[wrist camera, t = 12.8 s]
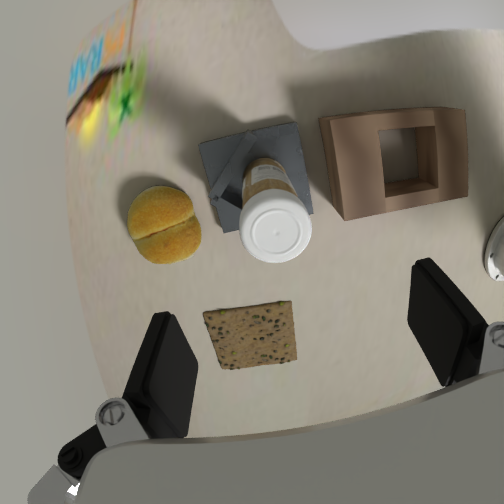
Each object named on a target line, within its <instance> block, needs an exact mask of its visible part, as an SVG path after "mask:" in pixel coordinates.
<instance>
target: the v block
mask: <svg viewBox="0 0 504 504" xmlns="http://www.w3.org/2000/svg"><path fill="white" fill-rule="evenodd" d="M198 146H199V149H200V153H201V156H202V160H203V163H204V167H205V171H206V174H207V178H208V181H209V185H210V188H211V191H210V193H209V195H208V197H209V198H211V202H210V204H212V205H213V206H215V207H216V209H217V212H218V216H219V219H220V223H221V226H222V229H223V233H227V232H231V231H236V230H239V221H240V214H241V211H242V209H243V199H242V188H243V182H242V179H243V173H244V171H245V169H246V167H247V166H248V165H249V164H250V163H251V162H252V161H255V160H257V159H260V158H270V159H273V160H275V161H277V162H278V163H280V164H281V165H282V166H283V168H284V170H285V172H286V175H287V176H288V178H289V180H290V182H291V184H292V186H293V188H294V190H295V192H296V194H297V196H298V198H299V199H300V200H301V201H302V203H303V204H304V206H305V208H306V210H307V212H308V214H309V215H310V214H313V207H312V201H311V195H310V190H309V184H308V178H307V173H306V167H305V162H304V157H303V152H302V147H301V142H300V137H299V132H298V127H297V122H292V123H286V124H281V125H276V126H271V127H266V128H262V129H257V130H252V131H250V130H247V131H246V132H244V133H239V134H235V135H231V136H227V137H223V138H219V139H215V140H211V141H208V142H204V143H200V144H199V145H198Z"/></svg>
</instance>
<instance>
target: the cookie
mask: <svg viewBox="0 0 504 504" xmlns="http://www.w3.org/2000/svg"><path fill="white" fill-rule="evenodd" d="M203 316H204V319H205V322H206V323H205V324H206V326H207V328H208V331H209V333H210V336H211V340H212V343H213V345H214V348H215V350H216V353H217V357H218V359H219V363H220V366H221V368H222V369H230V370H233V369H240V368H247V367H254V366H260V365H269V364H278V363H280V364H283V363H285V362H290V361H293V360H297V352H296V341H295V334H294V322H293V312H292V301H280V302H277V303H268V304H263V305H256V306H249V307H240V308H233V309H224V310H218V311H207V312H204V313H203Z"/></svg>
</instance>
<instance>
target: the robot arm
mask: <svg viewBox="0 0 504 504" xmlns="http://www.w3.org/2000/svg"><path fill="white" fill-rule="evenodd" d="M485 269H486V272H487V274H488V275H489V276H490V277H491V278H492V279H493V280H495V281H503V280H504V217H503V218H502V219H501V220H500V221H499V222H498V224H497V225H496V227H495V228H494V230H493V232H492V234H491V236H490V239H489V241H488V244H487V247H486V252H485ZM407 320H408V325H409V327H410V329H411V330H412V332H413V334H414V336H415V337H416V339H417V341H418V343H419V345H420V346H421V348H422V350H423V352H424V354H425V356H426V357H427V359H428V361H429V363H430V365H431V367H432V369H433V371H434V373H435V374H436V376H437V378H438V380H439V382H440V384H441V386H443V387H444V386H445V388H443V389H440V390H437V391H434V392H432V393H429V394H426V395H423V396H420V397H418V398H415V399H412V400H409V401H406V402H403V403H400V404H396V405H393V406H390V407H387V408H383V409H380V410H376V411H372V412H369V413H365V414H361V415H357V416H353V417H349V418H345V419H341V420H336V421H331V422H327V423H322V424H317V425H311V426H306V427H300V428H294V429H287V430H281V431H273V432H265V433H257V434H247V435H236V436H222V437H203V438H184V437H186V436H187V434H188V429H189V422H190V416H191V409H192V403H193V397H194V391H195V385H196V379H197V373H198V362H197V359H196V357H195V355H194V353H193V351H192V349H191V347H190V345H189V343H188V341H187V339H186V337H185V335H184V333H183V331H182V329H181V327H180V325H179V323H178V321H177V319H176V317H175V315H174V314H170V313H169V312H168V311H166V312H160V313H155V314H154V315H153V317H152V319H151V322H150V324H149V327H148V329H147V332H146V334H145V337H144V340H143V342H142V345H141V347H140V350H139V352H138V355H137V357H136V360H135V363H134V365H133V368H132V371H131V374H130V376H129V379H128V382H127V385H126V388H125V390H124V393H123V396H122V398H111V399H109V400H106V401H105V402H104V403H102V404H101V405H100V407H99V408H98V410H97V412H96V416H95V420H96V425H94V426H93V427H91V428H90V429H88V430H87V431H85V432H84V433H82V434H81V435H79V436H78V437H76V438H75V439H73V440H72V441H70V442H69V443H67V444H66V445H65V446H63V447H62V449H61V450H60V452H59V455H58V464H59V465H58V466H55V465H53V466H52V467H51V468H50V469H49V471H48V472H47V473H46V474H45V475H44V476H43V477H42V478H41V480H40V481H39V482H38V483H37V484H36V485H35V486H34V487H33V488H32V489H31V491H30V492H29V495H28V504H504V322H494V323H492V324H490V325H488V324H487V323H486V321H485V319H484V318H483V317H482V316H481V314H480V313H479V312H478V311H477V310H476V308H475V307H474V306H473V305H472V304H471V302H470V301H469V300H468V299H467V298H466V296H465V295H464V294H463V293H462V292H461V291H460V290H459V288H458V287H457V286H456V285H455V284H454V283H453V282H452V281H451V279H450V278H449V277H448V276H447V275H446V274H445V273H444V272H443V271H442V270H441V269H440V267H439V266H438V265H437V264H436V263H435V262H434V261H433V260H432V259H431V258H425V259H421V260H417V261H416V262H415V265H413V266H412V271H411V286H410V298H409V308H408V317H407Z"/></svg>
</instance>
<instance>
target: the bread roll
mask: <svg viewBox="0 0 504 504" xmlns="http://www.w3.org/2000/svg"><path fill="white" fill-rule="evenodd" d="M127 227H128V231H129V234H130V235H131V237H132V239H133V241H134V243H135V245H136V247H137V249H138V251H139V252H140V254H141V255H142V256H143V257H144V258H145V259H147V260H148V261H150V262H152V263H156V264H171V263H176V262H180V261H184V260H187V259H189V258H191V257H193V255H194V253H195V251H196V250H197V249H198V247H199V245H200V243H201V227H200V224H199V222H198V220H197V218H196V216H195V213H194V209H193V204H192V201H191V199H190V198H189V196H188V195H187V194H185V193H184V192H182V191H180V190H177V189H175V188H171V187H166V186H153V187H150V188H148V189H146V190H144V191H143V192H141V193H140V194H139V195H138V196H137V197H136V198H135V199H134V201H133V202H132V204H131V206H130V209H129V211H128V219H127Z"/></svg>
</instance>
